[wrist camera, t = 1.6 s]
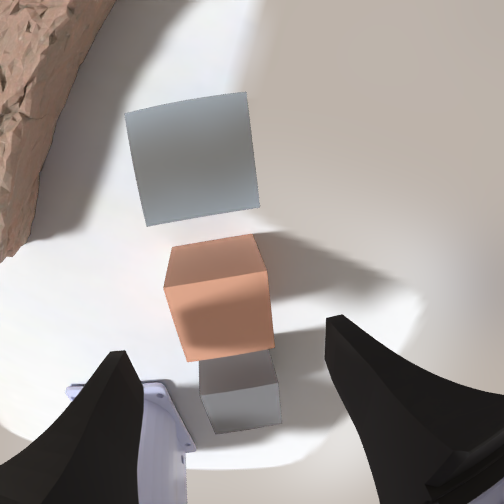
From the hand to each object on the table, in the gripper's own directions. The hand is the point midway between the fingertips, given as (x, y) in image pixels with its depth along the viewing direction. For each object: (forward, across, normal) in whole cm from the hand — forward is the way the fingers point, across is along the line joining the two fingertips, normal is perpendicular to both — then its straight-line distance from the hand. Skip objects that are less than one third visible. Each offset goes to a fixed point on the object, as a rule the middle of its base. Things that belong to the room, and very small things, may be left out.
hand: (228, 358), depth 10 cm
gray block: (+6, 0, +7) cm, 9 cm away
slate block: (+6, 0, -6) cm, 9 cm away
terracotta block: (+6, 0, 0) cm, 6 cm away
